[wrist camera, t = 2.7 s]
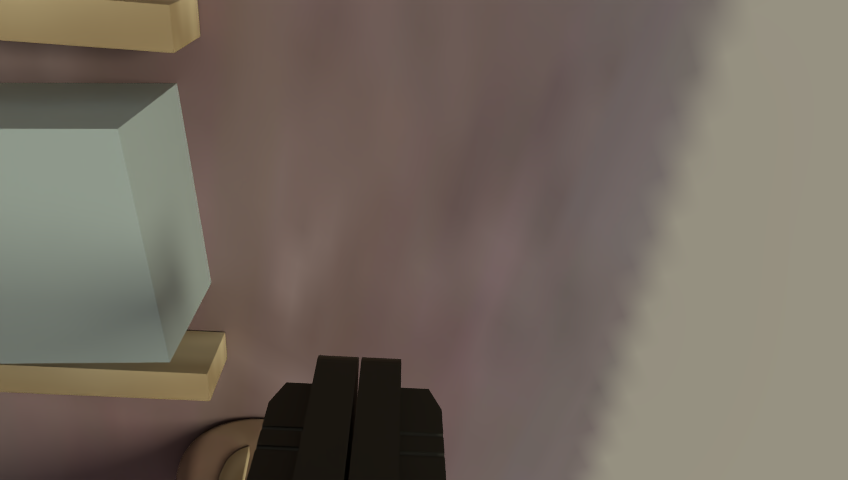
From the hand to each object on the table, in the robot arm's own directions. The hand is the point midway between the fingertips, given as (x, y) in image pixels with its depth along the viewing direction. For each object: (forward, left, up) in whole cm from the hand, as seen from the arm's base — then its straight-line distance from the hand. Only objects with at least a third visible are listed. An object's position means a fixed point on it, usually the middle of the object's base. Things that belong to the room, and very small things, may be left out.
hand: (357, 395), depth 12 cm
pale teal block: (0, -9, -8) cm, 12 cm away
